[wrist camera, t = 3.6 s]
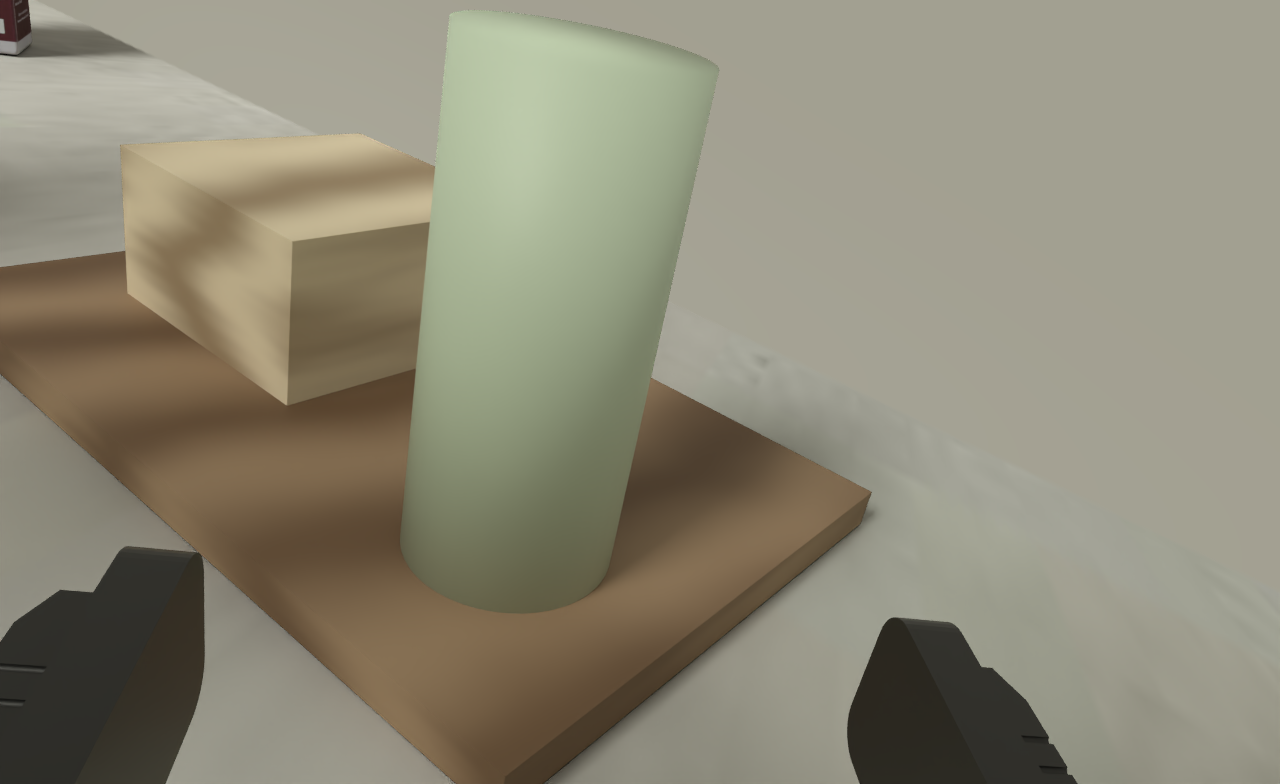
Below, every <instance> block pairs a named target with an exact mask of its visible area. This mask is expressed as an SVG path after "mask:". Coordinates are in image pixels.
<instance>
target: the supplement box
mask: <svg viewBox="0 0 1280 784" xmlns="http://www.w3.org/2000/svg"><path fill="white" fill-rule="evenodd" d="M31 43H32V36H31V23H30V14H29V4H28V0H0V53H5V54H14V55H17V54H19V53H20V52H22V51H23V50H24V49H25V48H26V47H28V46H29V45H30V44H31Z"/></svg>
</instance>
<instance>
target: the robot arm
mask: <svg viewBox="0 0 1280 784" xmlns="http://www.w3.org/2000/svg"><path fill="white" fill-rule="evenodd" d="M204 660H205V644H204V568H203V560H202V556H201V555H200V553H197V552H186V551H175V550H163V549H152V548H141V547H130V546H127V547H124V548H123V549H122V550H121V551H120V552H119V553H118V554H117V556H116V557H115V559H114V560H113V562H112V563H111V565H110V567H109V568H108V570H107V571H106V573H105V575H104V576H103V578H102V579H101V581H100V583H99V584H98V586H97V587H96V589H95V591H94V592H93V593H92V592H80V591H67V590H59V591H58V592H57V593H55V594H54V595H52V596H51V597H49V598H48V599H47V600H45V601H44V602H42V603H41V604H39V605H38V606H37V607H35V608H34V609H32V610H31V611H30V612H28V613H27V614H25V615H24V616H22V617H21V618H20V619H18V620H17V621H15V622H14V623H13V625H12V626H11V628H10V629H9V630H8V632H7V633H6V635H5V636H4V637H3V639H2V640H1V642H0V784H165V783H166V781H167V779H168V776H169V774H170V771H171V769H172V766H173V764H174V762H175V759H176V757H177V754H178V752H179V749H180V747H181V745H182V742H183V740H184V737H185V735H186V732H187V730H188V727H189V725H190V723H191V720H192V718H193V715H194V712H195V709H196V706H197V702H198V698H199V694H200V690H201V685H202V679H203V672H204ZM847 738H848V747H849V753H850V757H851V760H852V763H853V766H854V769H855V772H856V774H857V777H858V780H859V782H860V784H1077V782H1076V781H1075V779H1074V777H1073V776H1072V775H1068V774H1067V766H1066V764H1065V763H1064V761H1063V759H1062V758H1061V756H1060V754H1059V753H1058V751H1057V750H1056V748H1055V746H1054V745H1053V744H1049V742H1048V738H1049V737H1048V735H1047V733H1046V732H1045V730H1044V728H1043V727H1042V725H1041V723H1040V722H1039V720H1038V719H1037V717H1036V715H1035V714H1034V712H1033V710H1032V709H1031V707H1030V706H1029V704H1028V702H1027V701H1026V700H1025V699H1024V698H1023V697H1022V696H1021V695H1020V694H1019V693H1018V692H1017V691H1016V690H1015V689H1014V688H1013V687H1011V686H1010V685H1009V684H1008V683H1007V682H1006V681H1005V680H1004V679H1003V678H1002V677H1001V676H1000V675H999V674H998V673H997V672H996V671H995V670H994V669H992V668H985V667H981V666H980V664H979V662H978V660H977V659H976V657H975V655H974V654H973V652H972V650H971V648H970V647H969V645H968V643H967V642H966V640H965V638H964V636H963V635H962V633H961V632H960V630H959V629H958V628H957V627H956V626H955V625H954V624H952V623H949V622H940V621H929V620H918V619H907V618H896V617H895V618H891V619H889V620H888V621H887V622H886V623H885V624H884V626H883V627H882V630H881V632H880V634H879V637H878V639H877V642H876V644H875V647H874V649H873V652H872V654H871V657H870V659H869V662H868V664H867V667H866V669H865V672H864V675H863V677H862V680H861V682H860V685H859V687H858V690H857V692H856V695H855V697H854V700H853V702H852V705H851V708H850V712H849V717H848V727H847Z"/></svg>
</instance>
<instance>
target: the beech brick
mask: <svg viewBox="0 0 1280 784" xmlns="http://www.w3.org/2000/svg"><path fill="white" fill-rule="evenodd" d="M120 149H121V170H122V190H123V211H124V231H125V252H126V273H127V293H128V294H129V295H131V296H132V297H134V298H135V299H136V300H138V301H139V302H141V303H142V304H143V305H145V306H146V307H148V308H149V309H151V310H152V311H153V312H155V313H156V314H158V315H159V316H160V317H162V318H163V319H165V320H166V321H168V322H169V323H170V324H172V325H173V326H175V327H176V328H178V329H179V330H180V331H182V332H183V333H185V334H186V335H187V336H189V337H190V338H192V339H193V340H195V341H196V342H197V343H199V344H200V345H202V346H203V347H204V348H206V349H207V350H209V351H210V352H212V353H213V354H214V355H216V356H217V357H219V358H220V359H221V360H223V361H224V362H226V363H227V364H229V365H230V366H231V367H233V368H234V369H236V370H237V371H238V372H240V373H241V374H243V375H244V376H246V377H247V378H248V379H250V380H251V381H253V382H254V383H255V384H257V385H258V386H260V387H261V388H263V389H264V390H265V391H267V392H268V393H270V394H271V395H272V396H274V397H275V398H277V399H278V400H280V401H281V402H282V403H284V404H285V405H287V406H288V405H291V404H295V403H298V402H302V401H305V400H309V399H312V398H316V397H319V396H322V395H326V394H329V393H333V392H336V391H340V390H343V389H347V388H350V387H354V386H357V385H360V384H364V383H367V382H371V381H374V380H378V379H381V378H385V377H388V376H392V375H395V374H398V373H402V372H405V371H409V370H412V369H416V363H417V353H418V342H419V332H420V321H421V311H422V300H423V290H424V279H425V269H426V258H427V248H428V237H429V227H430V216H431V206H432V195H433V184H434V174H435V166H432V165H430V164H428V163H426V162H423V161H421V160H419V159H417V158H414V157H412V156H410V155H408V154H405V153H403V152H400V151H399V150H396V149H394V148H392V147H389V146H387V145H385V144H383V143H380V142H378V141H376V140H374V139H371V138H369V137H367V136H365V135H362V134H339V135H317V136H296V137H274V138H253V139H232V140H211V141H190V142H169V143H147V144H126V145H120Z"/></svg>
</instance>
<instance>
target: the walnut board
mask: <svg viewBox="0 0 1280 784" xmlns="http://www.w3.org/2000/svg"><path fill="white" fill-rule="evenodd" d="M0 374H1V375H2V376H4V377H5V378H6V379H7V380H8V381H9V382H10V383H11V384H12V385H14V386H15V387H16V388H17V389H18V390H19V391H20V392H21V393H22V394H24V395H25V396H26V397H27V398H28V399H29V400H30V401H31V402H32V403H34V404H35V405H36V406H37V407H38V408H39V409H40V410H41V411H42V412H44V413H45V414H46V415H47V416H48V417H49V418H50V419H51V420H52V421H54V422H55V423H56V424H57V425H58V426H59V427H60V428H61V429H62V430H64V431H65V432H66V433H67V434H68V435H69V436H70V437H71V438H72V439H74V440H75V441H76V442H77V443H78V444H79V445H80V446H81V447H82V448H84V449H85V450H86V451H87V452H88V453H89V454H90V455H91V456H92V457H94V458H95V459H96V460H97V461H98V462H99V463H100V464H101V465H102V466H104V467H105V468H106V469H107V470H108V471H109V472H110V473H111V474H112V475H114V476H115V477H116V478H117V479H118V480H119V481H120V482H121V483H122V484H124V485H125V486H126V487H127V488H128V489H129V490H130V491H131V492H132V493H134V494H135V495H136V496H137V497H138V498H139V499H140V500H141V501H142V502H144V503H145V504H146V505H147V506H148V507H149V508H150V509H151V510H152V511H154V512H155V513H156V514H157V515H158V516H159V517H160V518H161V519H162V520H164V521H165V522H166V523H167V524H168V525H169V526H170V527H171V528H172V529H174V530H175V531H176V532H177V533H178V534H179V535H180V536H181V537H182V538H184V539H185V540H186V541H187V542H188V543H189V544H190V545H191V546H192V547H194V548H195V549H196V550H197V551H198V552H199V553H200V554H201V555H202V556H204V557H205V558H206V559H207V560H208V561H209V562H210V563H211V564H212V565H214V566H215V567H216V568H217V569H218V570H219V571H220V572H221V573H222V574H224V575H225V576H226V577H227V578H228V579H229V580H230V581H231V582H232V583H234V584H235V585H236V586H237V587H238V588H239V589H240V590H241V591H242V592H244V593H245V594H246V595H247V596H248V597H249V598H250V599H251V600H252V601H254V602H255V603H256V604H257V605H258V606H259V607H260V608H261V609H262V610H264V611H265V612H266V613H267V614H268V615H269V616H270V617H271V618H272V619H274V620H275V621H276V622H277V623H278V624H279V625H280V626H281V627H282V628H284V629H285V630H286V631H287V632H288V633H289V634H290V635H291V636H292V637H294V638H295V639H296V640H297V641H298V642H299V643H300V644H301V645H302V646H304V647H305V648H306V649H307V650H308V651H309V652H310V653H311V654H312V655H314V656H315V657H316V658H317V659H318V660H319V661H320V662H321V663H322V664H324V665H325V666H326V667H327V668H328V669H329V670H330V671H331V672H332V673H334V674H335V675H336V676H337V677H338V678H339V679H340V680H341V681H342V682H344V683H345V684H346V685H347V686H348V687H349V688H350V689H351V690H352V691H354V692H355V693H356V694H357V695H358V696H359V697H360V698H361V699H362V700H364V701H365V702H366V703H367V704H368V705H369V706H370V707H371V708H372V709H374V710H375V711H376V712H377V713H378V714H379V715H380V716H381V717H382V718H384V719H385V720H386V721H387V722H388V723H389V724H390V725H391V726H392V727H394V728H395V729H396V730H397V731H398V732H399V733H400V734H401V735H402V736H404V737H405V738H406V739H407V740H408V741H409V742H410V743H411V744H412V745H414V746H415V747H416V748H417V749H418V750H419V751H420V752H421V753H422V754H424V755H425V756H426V757H427V758H428V759H429V760H430V761H431V762H432V763H434V764H435V765H436V766H437V767H438V768H439V769H440V770H441V771H442V772H444V773H445V774H446V775H447V776H448V777H449V778H450V779H451V780H452V781H454V782H455V783H456V784H543V783H544V782H545V781H546V780H548V779H549V778H550V777H551V776H553V775H554V774H555V773H556V772H557V771H559V770H560V769H561V768H562V767H564V766H565V765H566V764H567V763H568V762H570V761H571V760H572V759H573V758H575V757H576V756H577V755H578V754H579V753H581V752H582V751H583V750H584V749H586V748H587V747H588V746H589V745H590V744H592V743H593V742H594V741H595V740H597V739H598V738H599V737H600V736H601V735H603V734H604V733H605V732H606V731H608V730H609V729H610V728H611V727H612V726H614V725H615V724H616V723H617V722H619V721H620V720H621V719H622V718H623V717H625V716H626V715H627V714H628V713H630V712H631V711H632V710H633V709H634V708H636V707H637V706H638V705H639V704H641V703H642V702H643V701H644V700H645V699H647V698H648V697H649V696H650V695H652V694H653V693H654V692H655V691H656V690H658V689H659V688H660V687H661V686H663V685H664V684H665V683H666V682H667V681H669V680H670V679H671V678H672V677H674V676H675V675H676V674H677V673H678V672H680V671H681V670H682V669H683V668H685V667H686V666H687V665H688V664H689V663H691V662H692V661H693V660H694V659H696V658H697V657H698V656H699V655H700V654H702V653H703V652H704V651H705V650H707V649H708V648H709V647H710V646H711V645H713V644H714V643H715V642H716V641H718V640H719V639H720V638H721V637H722V636H724V635H725V634H726V633H727V632H729V631H730V630H731V629H732V628H733V627H735V626H736V625H737V624H738V623H740V622H741V621H742V620H743V619H744V618H746V617H747V616H748V615H749V614H751V613H752V612H753V611H754V610H755V609H757V608H758V607H759V606H760V605H762V604H763V603H764V602H765V601H766V600H768V599H769V598H770V597H771V596H773V595H774V594H775V593H776V592H777V591H779V590H780V589H781V588H782V587H784V586H785V585H786V584H787V583H788V582H790V581H791V580H792V579H793V578H795V577H796V576H797V575H798V574H799V573H801V572H802V571H803V570H804V569H806V568H807V567H808V566H809V565H811V564H812V563H813V562H814V561H815V560H817V559H818V558H819V557H820V556H822V555H823V554H824V553H825V552H826V551H828V550H829V549H830V548H831V547H833V546H834V545H835V544H836V543H837V542H839V541H840V540H841V539H842V538H844V537H845V536H846V535H847V534H848V533H850V532H851V531H852V530H853V529H855V528H856V527H857V526H858V525H859V524H860V523H861V521H862V518H863V515H864V512H865V510H866V507H867V504H868V501H869V498H870V496H871V493H872V492H870V491H869V490H867V489H865V488H863V487H861V486H859V485H857V484H855V483H853V482H851V481H849V480H847V479H845V478H843V477H842V476H840V475H838V474H836V473H834V472H832V471H830V470H828V469H826V468H824V467H822V466H820V465H818V464H816V463H815V462H813V461H811V460H809V459H807V458H805V457H803V456H801V455H799V454H797V453H795V452H793V451H791V450H789V449H788V448H786V447H784V446H782V445H780V444H778V443H776V442H774V441H772V440H770V439H768V438H766V437H764V436H762V435H761V434H759V433H757V432H755V431H753V430H751V429H749V428H747V427H745V426H743V425H741V424H739V423H737V422H735V421H734V420H732V419H730V418H728V417H726V416H724V415H722V414H720V413H718V412H716V411H714V410H712V409H710V408H708V407H707V406H705V405H703V404H701V403H699V402H697V401H695V400H693V399H691V398H689V397H687V396H685V395H683V394H681V393H680V392H678V391H676V390H674V389H672V388H670V387H668V386H666V385H664V384H662V383H660V382H658V381H656V380H654V379H653V378H651V379H650V384H649V389H648V393H647V398H646V402H645V407H644V411H643V416H642V420H641V425H640V429H639V434H638V438H637V443H636V447H635V452H634V456H633V461H632V465H631V470H630V474H629V479H628V483H627V488H626V492H625V497H624V501H623V506H622V510H621V515H620V519H619V524H618V528H617V533H616V537H615V542H614V546H613V551H612V555H611V560H610V564H609V568H608V571H607V573H606V575H605V577H604V579H603V580H602V582H601V583H600V584H599V585H598V586H597V587H596V588H595V589H594V590H593V591H592V592H591V593H589V594H588V595H587V596H585V597H584V598H582V599H580V600H578V601H576V602H574V603H572V604H569V605H567V606H564V607H561V608H557V609H554V610H550V611H544V612H538V613H524V614H517V613H500V612H492V611H487V610H482V609H477V608H474V607H470V606H467V605H463V604H461V603H458V602H456V601H453V600H451V599H449V598H447V597H445V596H443V595H441V594H439V593H437V592H436V591H434V590H433V589H431V588H430V587H428V586H427V585H425V584H424V583H423V582H422V581H421V580H420V579H419V578H417V576H416V575H415V574H414V573H413V572H412V571H411V569H410V568H409V566H408V565H407V563H406V561H405V560H404V557H403V554H402V552H401V546H400V532H401V521H402V511H403V500H404V490H405V479H406V469H407V458H408V448H409V437H410V427H411V416H412V405H413V395H414V384H415V374H416V369H412V370H409V371H405V372H402V373H398V374H395V375H392V376H388V377H385V378H381V379H378V380H374V381H371V382H367V383H364V384H360V385H357V386H354V387H350V388H347V389H343V390H340V391H336V392H333V393H329V394H326V395H322V396H319V397H316V398H312V399H309V400H305V401H302V402H298V403H295V404H291V405H288V406H287V405H285V404H284V403H282V402H281V401H280V400H278V399H277V398H275V397H274V396H272V395H271V394H270V393H268V392H267V391H265V390H264V389H263V388H261V387H260V386H258V385H257V384H255V383H254V382H253V381H251V380H250V379H248V378H247V377H246V376H244V375H243V374H241V373H240V372H238V371H237V370H236V369H234V368H233V367H231V366H230V365H229V364H227V363H226V362H224V361H223V360H221V359H220V358H219V357H217V356H216V355H214V354H213V353H212V352H210V351H209V350H207V349H206V348H204V347H203V346H202V345H200V344H199V343H197V342H196V341H195V340H193V339H192V338H190V337H189V336H187V335H186V334H185V333H183V332H182V331H180V330H179V329H178V328H176V327H175V326H173V325H172V324H170V323H169V322H168V321H166V320H165V319H163V318H162V317H160V316H159V315H158V314H156V313H155V312H153V311H152V310H151V309H149V308H148V307H146V306H145V305H143V304H142V303H141V302H139V301H138V300H136V299H135V298H134V297H132V296H131V295H129V294H128V293H127V273H126V252H125V251H122V252H114V253H106V254H99V255H91V256H83V257H76V258H68V259H61V260H53V261H45V262H38V263H30V264H22V265H15V266H7V267H0Z"/></svg>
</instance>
